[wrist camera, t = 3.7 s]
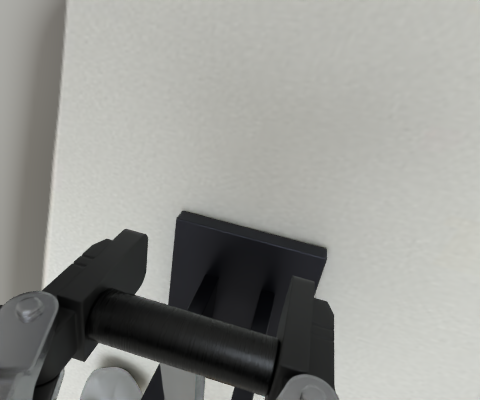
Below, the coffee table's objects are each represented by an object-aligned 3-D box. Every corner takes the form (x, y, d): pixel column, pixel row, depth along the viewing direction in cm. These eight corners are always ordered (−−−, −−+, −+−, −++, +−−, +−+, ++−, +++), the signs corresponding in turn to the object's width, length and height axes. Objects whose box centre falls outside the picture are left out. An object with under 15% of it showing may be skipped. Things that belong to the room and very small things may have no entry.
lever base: (182, 210, 25) (58, 362, 14) (327, 248, 24) (322, 451, 12) (170, 333, 30) (74, 514, 19) (286, 369, 29) (257, 586, 18)
